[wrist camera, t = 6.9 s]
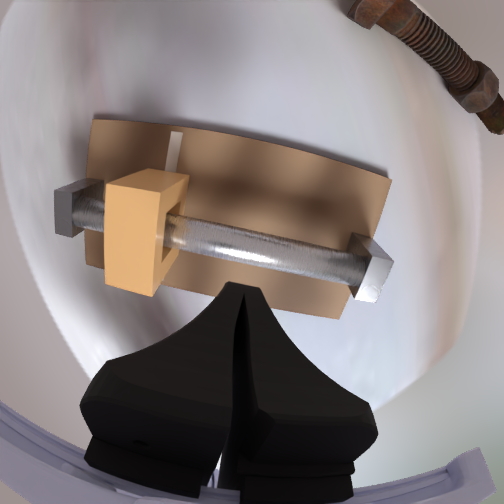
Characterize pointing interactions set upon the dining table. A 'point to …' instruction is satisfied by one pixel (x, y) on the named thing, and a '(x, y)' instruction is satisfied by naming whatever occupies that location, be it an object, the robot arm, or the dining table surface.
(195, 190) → the board
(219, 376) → the robot arm
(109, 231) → the collar
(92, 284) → the dining table surface
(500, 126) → the bolt
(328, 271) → the rail
